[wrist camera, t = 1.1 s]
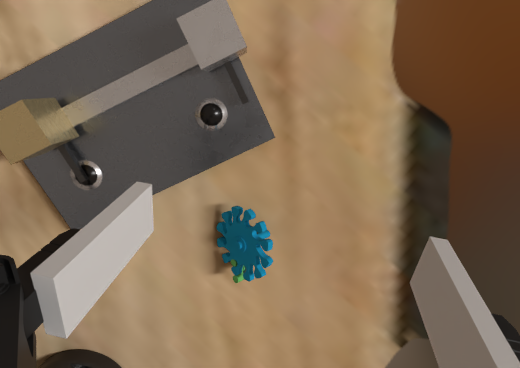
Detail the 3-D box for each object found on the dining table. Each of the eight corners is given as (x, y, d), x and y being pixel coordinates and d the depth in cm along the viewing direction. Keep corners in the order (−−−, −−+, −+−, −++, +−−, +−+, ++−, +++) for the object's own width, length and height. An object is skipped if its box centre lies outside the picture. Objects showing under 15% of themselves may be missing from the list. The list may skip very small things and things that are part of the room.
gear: (219, 194, 44) (274, 233, 38) (250, 187, 48) (304, 221, 42) (206, 261, 48) (254, 304, 42) (236, 249, 52) (283, 287, 46)
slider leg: (227, 111, 40) (224, 116, 34) (187, 29, 37) (176, 18, 31) (264, 93, 39) (268, 94, 33) (227, 9, 37) (223, -6, 31)
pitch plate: (78, 227, 46) (42, 258, 38) (-15, 93, 40) (-80, 94, 32) (274, 135, 43) (280, 146, 35) (203, -21, 38) (191, -51, 30)
